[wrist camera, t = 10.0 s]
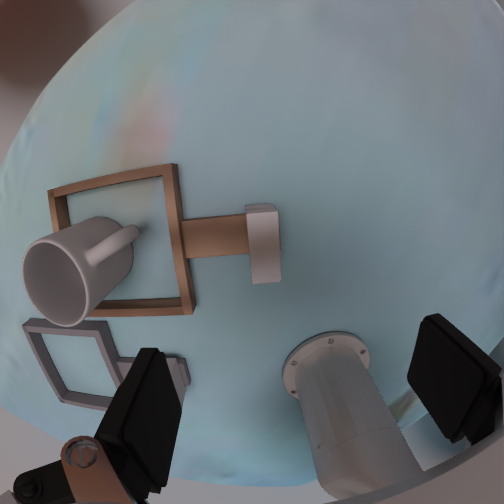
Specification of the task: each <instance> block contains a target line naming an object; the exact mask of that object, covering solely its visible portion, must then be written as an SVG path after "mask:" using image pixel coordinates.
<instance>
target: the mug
mask: <svg viewBox="0 0 504 504" xmlns="http://www.w3.org/2000/svg"><path fill="white" fill-rule="evenodd" d="M138 236H139V231H138V228H137V227H136V226H135V225H129V226H127V227H125V228H122V227H121V226H120V225H119V224H118V223H116V222H115V221H113V220H111V219H109V218H105V217H94V218H90V219H87V220H85V221H83V222H80V223H78V224H75V225H73V226H70V227H67V228H65V229H62V230H60V231H57V232H55V233H52V234H50V235H48V236H45V237H43V238H41V239H39V240H37V241H35V242H34V243H32V244H31V245H30V246H29V248H28V249H27V251H26V253H25V255H24V258H23V264H22V277H23V282H24V286H25V289H26V292H27V294H28V297H29V299H30V300H31V302H32V304H33V305H34V307H35V308H36V309H37V311H38V312H39V313H40V314H41V315H42V316H43V317H45V318H46V319H47V320H49V321H50V322H52V323H54V324H56V325H59V326H63V327H71V326H75V325H77V324H79V323H80V322H82V321H83V320H84V319H85V318H86V317H87V316H88V315H89V314H90V313H91V312H92V311H93V310H94V308H95V307H96V306H97V305H98V304H99V303H100V302H101V301H102V300H103V299H104V298H105V297H106V296H107V295H108V294H109V293H110V292H111V291H112V290H113V289H114V288H115V287H116V286H117V285H118V284H119V283H121V282H122V281H123V280H124V279H125V277H126V276H127V275H128V273H129V271H130V269H131V266H132V262H133V249H132V245H131V242H132V241H134V240H135V239H136V238H137V237H138Z"/></svg>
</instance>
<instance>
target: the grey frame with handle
mask: <svg viewBox="0 0 504 504" xmlns="http://www.w3.org/2000/svg"><path fill="white" fill-rule="evenodd" d="M22 327H23V330H24V332H25V334H26V337H27V339H28V341H29V344H30V346H31V348H32V350H33V352H34V354H35V356H36V358H37V360H38V363H39V364H40V366H41V368H42V370H43V372H44V374H45V376H46V378H47V380H48V381H49V383H50V385H51V387H52V389H53V390H54V392H55V394H56V395H57V397H58V399H59V400H60V402H63V403H67V404H71V405H76V406H80V407H85V408H91V409H96V410H102V411H107V409H108V407H109V405H110V403H111V401H112V399H113V398H110V397H103V396H96V395H90V394H84V393H78V392H73V391H68V390H67V389H66V387H65V385H64V383H63V381H62V379H61V378H60V376H59V374H58V372H57V370H56V368H55V366H54V364H53V362H52V360H51V358H50V355H49V353H48V351H47V349H46V347H45V345H44V342H43V340H42V338H41V335H40V333H45V334H56V335H69V336H85V337H95V339H96V341H97V344H98V346H99V349H100V351H101V354H102V356H103V359H104V361H105V364H106V366H107V368H108V370H109V373H110V375H111V377H112V379H113V381H114V384H115V386H116V388H117V389H118V387H119V385H120V384H121V383H123V381H124V379H125V377H126V375H127V373H128V372H129V370H130V368H131V366H132V364H133V362H134V360H135V358H126V357H119V356H118V353H117V351H116V348H115V345H114V342H113V340H112V337H111V334H110V331H109V328H108V325H107V322H106V321H82V322H80V323H79V324H77V325H75V326H71V327H63V326H59V325H56V324H54V323H52V322H50V321H49V320H47V319H32V318H30V319H29V320H28V321H27V322H25V323H24V324H23V325H22ZM166 360H167V364H168V367H169V370H170V373H171V376H172V380H173V383H174V386H175V389H176V392H177V394H178V397H179V400H180V403H181V407H182V406H183V401H184V397H185V392H186V389H185V386H190V381H191V379H190V376H189V372H188V369H187V365H186V361H185V358H166Z"/></svg>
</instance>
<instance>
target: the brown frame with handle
mask: <svg viewBox="0 0 504 504" xmlns="http://www.w3.org/2000/svg"><path fill="white" fill-rule="evenodd" d="M157 176H163V184H164V193H165V201H166V209H167V217H168V224H169V232H170V238H171V245H172V251H173V258H174V264H175V269H176V275H177V281H178V286H179V291H180V298H162V299H141V300H114V301H101V302H100V303H99V304H98V305H97V306H96V307H95V308H94V310H93V311H92V312H91V313H90V314H89V315H88V316H87V317H135V316H169V315H191V314H193V313H194V310H195V306H196V300H195V294H194V289H193V283H192V277H191V270H190V264H189V258H200V257H211V256H223V255H234V254H245V253H250V264H251V274H252V284H262V283H273V282H282V277H281V257H280V250H281V249H280V231H279V215H278V211H277V210H276V209H275V208H274V207H273V206H272V205H271V204H270V203H268V204H256V205H245V206H246V214H234V215H224V216H213V217H203V218H194V219H185V220H183V213H182V205H181V196H180V187H179V177H178V167H177V164H172V163H171V164H164V165H158V166H152V167H146V168H141V169H136V170H130V171H125V172H120V173H116V174H111V175H106V176H102V177H97V178H93V179H89V180H85V181H81V182H77V183H73V184H69V185H65V186H62V187H58V188H55V189H51V190H48V191H47V192H48V200H49V207H50V214H51V220H52V226H53V231H54V233H55V232H57V231H60V230H62V229H65V228H67V227H70V222H69V216H68V209H67V202H66V195H68V194H72V193H76V192H80V191H85V190H89V189H93V188H98V187H103V186H108V185H112V184H118V183H123V182H128V181H133V180H139V179H145V178H151V177H157Z"/></svg>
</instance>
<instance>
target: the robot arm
mask: <svg viewBox="0 0 504 504" xmlns="http://www.w3.org/2000/svg"><path fill="white" fill-rule="evenodd" d="M369 364H370V355H369V351H368V349H367V347H366V345H365V344H364V342H363V341H362V340H361V339H359V338H358V337H357V336H355V335H353V334H349V333H345V332H330V333H325V334H321V335H318V336H315V337H313V338H311V339H309V340H307V341H305V342H304V343H302V344H301V345H300V346H298V347H297V348H296V349H295V350H294V351H293V352H292V353H291V354H290V355H289V357H288V358H287V360H286V362H285V364H284V367H283V372H282V378H283V383H284V387H285V389H286V390H287V392H288V393H289V394H290V395H291V396H292V397H294V398H296V399H298V400H299V402H300V406H301V410H302V414H303V418H304V423H305V427H306V431H307V435H308V440H309V444H310V448H311V453H312V457H313V461H314V466H315V470H316V474H317V478H318V481H319V483H320V485H321V487H322V488H323V489H324V490H325V491H326V492H327V493H328V494H330V495H331V496H333V497H334V498H336V499H338V501H334V502H330V503H325V504H504V374H503V375H502V377H501V378H500V377H499V374H500V372H501V369H502V368H501V367H500V366H499V365H498V364H496V363H495V362H494V361H493V360H492V359H491V358H490V357H489V356H488V355H487V354H486V353H485V352H483V351H482V350H481V349H480V348H479V347H478V346H477V345H476V344H475V343H473V342H472V341H471V340H470V339H469V338H468V337H467V336H465V335H464V334H463V333H462V332H461V331H460V330H458V329H457V328H456V327H455V326H454V325H453V324H451V323H450V322H449V321H448V320H447V319H445V318H444V317H443V316H442V315H440V314H439V313H436V314H432V315H428V316H426V317H425V318H424V319H423V321H422V322H421V324H420V328H419V332H418V336H417V341H416V345H415V349H414V353H413V356H412V360H411V364H410V367H409V371H408V374H407V380H408V383H409V384H410V386H411V387H412V389H413V390H414V391H415V393H416V394H417V396H418V397H419V399H420V400H421V402H422V403H423V405H424V406H425V407H426V409H427V410H428V412H429V413H430V415H431V416H432V418H433V419H434V421H435V423H436V424H437V426H438V427H439V429H440V430H441V432H442V433H443V435H444V436H445V438H447V439H450V441H451V442H452V443H455V442H457V441H459V440H461V439H463V437H464V436H466V437H467V442H466V448H465V451H463V452H461V453H459V454H458V455H456V456H454V457H452V458H450V459H449V460H447V461H445V462H443V463H441V464H439V465H437V466H435V467H433V468H430V469H428V470H426V471H423V470H422V468H421V467H420V465H419V463H418V462H417V460H416V458H415V457H414V455H413V453H412V451H411V449H410V448H409V446H408V444H407V442H406V440H405V438H404V436H403V434H402V433H401V431H400V429H399V427H398V425H397V423H396V421H395V419H394V418H393V416H392V414H391V412H390V410H389V408H388V407H387V405H386V403H385V401H384V399H383V398H382V396H381V394H380V392H379V390H378V389H377V387H376V385H375V383H374V382H373V380H372V378H371V376H370V375H369V373H368V368H369ZM181 414H182V407H181V403H180V400H179V397H178V394H177V392H176V389H175V386H174V383H173V380H172V376H171V373H170V370H169V367H168V364H167V360H166V357H165V354H164V353H163V352H160V351H159V349H158V348H141V349H140V351H139V353H138V354H137V356H136V358H135V360H134V362H133V364H132V366H131V368H130V370H129V372H128V373H127V375H126V377H125V379H124V381H123V383H121V384H120V385H119V387H118V389H117V391H116V393H115V395H114V397H113V399H112V401H111V403H110V405H109V407H108V409H107V411H106V413H105V415H104V417H103V419H102V421H101V423H100V425H99V427H98V429H97V432H96V434H95V436H94V438H93V437H89V436H78V437H74V438H72V439H70V440H69V441H68V442H66V443H65V445H64V446H63V448H62V450H61V460H59V461H56V462H53V463H51V464H48V465H45V466H42V467H39V468H37V469H33V470H30V471H27V472H24V473H22V474H20V475H19V476H18V477H17V478H16V480H15V482H14V486H13V491H14V492H11V491H10V490H8V491H6V492H5V493H3V494H2V495H1V496H0V504H149V502H148V501H147V500H146V499H147V498H148V495H149V492H152V493H158V494H160V492H161V487H165V486H166V485H167V481H168V476H169V471H170V466H171V461H172V456H173V451H174V447H175V442H176V437H177V432H178V428H179V423H180V419H181Z"/></svg>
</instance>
